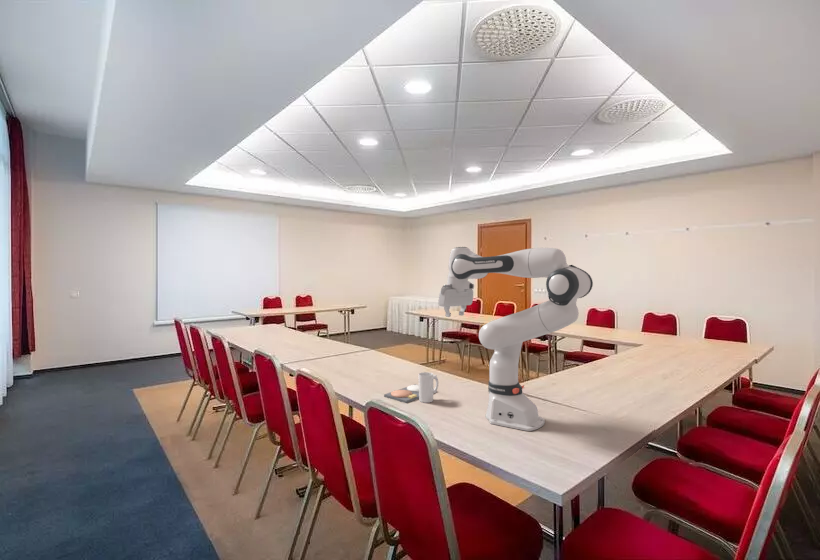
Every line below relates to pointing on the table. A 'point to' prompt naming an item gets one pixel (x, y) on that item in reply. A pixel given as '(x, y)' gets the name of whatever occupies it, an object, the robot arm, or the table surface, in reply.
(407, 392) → the grey food tray
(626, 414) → the table surface
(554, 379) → the table surface
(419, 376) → the mug
